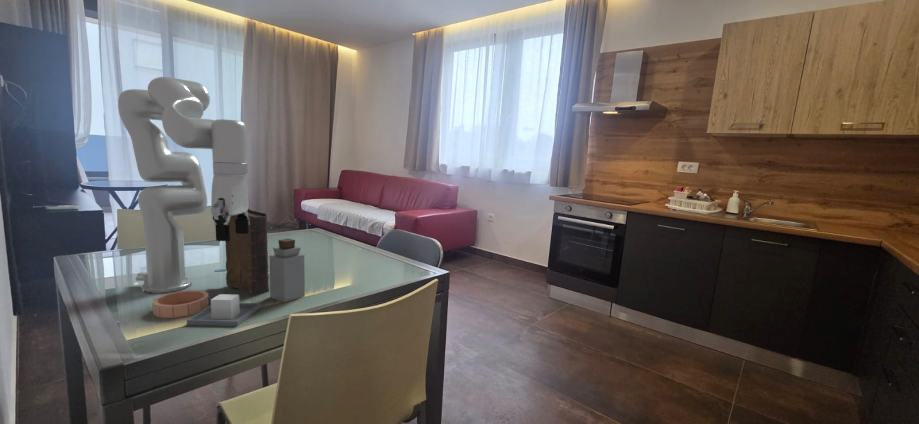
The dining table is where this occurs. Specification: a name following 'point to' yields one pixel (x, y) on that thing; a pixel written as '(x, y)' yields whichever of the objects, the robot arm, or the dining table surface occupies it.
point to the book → (248, 256)
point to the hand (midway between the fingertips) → (233, 236)
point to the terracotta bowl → (180, 303)
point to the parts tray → (206, 319)
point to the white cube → (225, 306)
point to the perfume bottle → (287, 272)
